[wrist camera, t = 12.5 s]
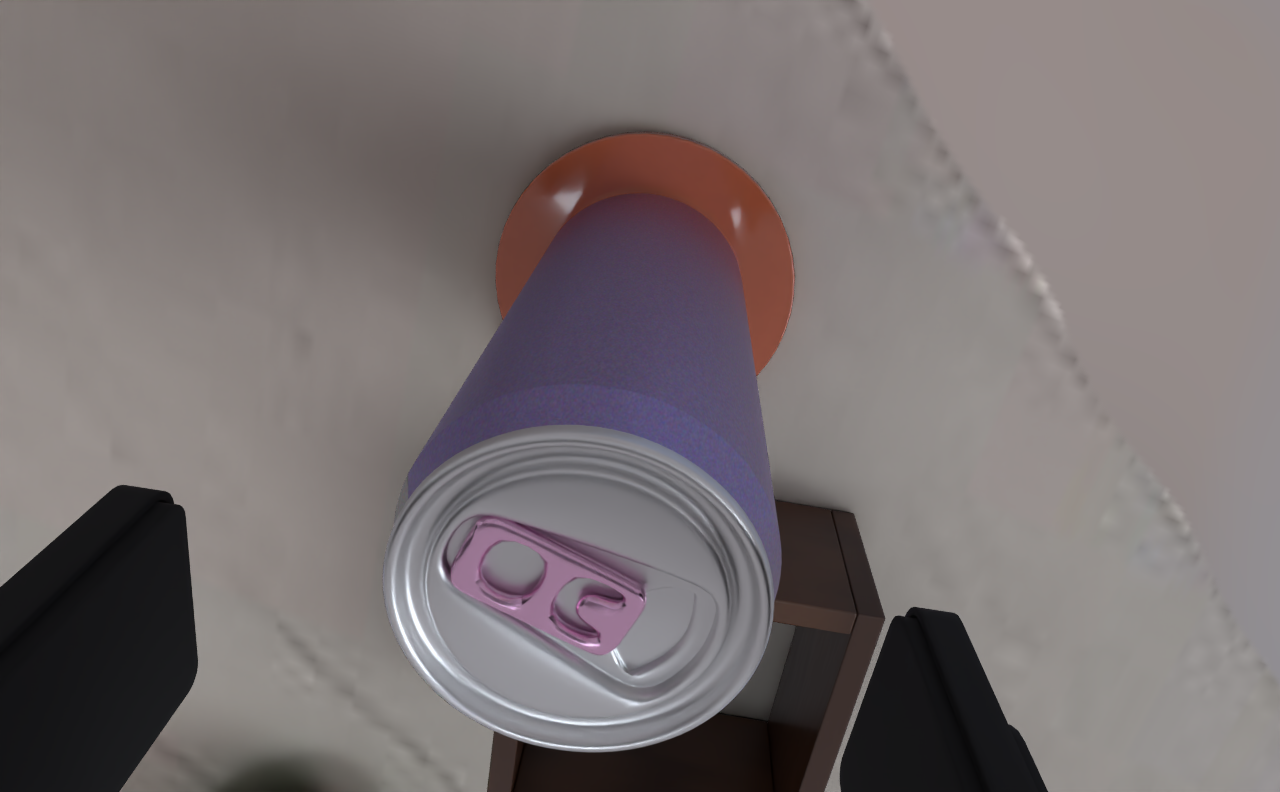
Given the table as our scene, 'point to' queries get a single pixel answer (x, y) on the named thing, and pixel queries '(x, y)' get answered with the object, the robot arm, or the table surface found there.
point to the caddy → (804, 704)
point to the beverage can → (597, 497)
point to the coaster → (668, 173)
